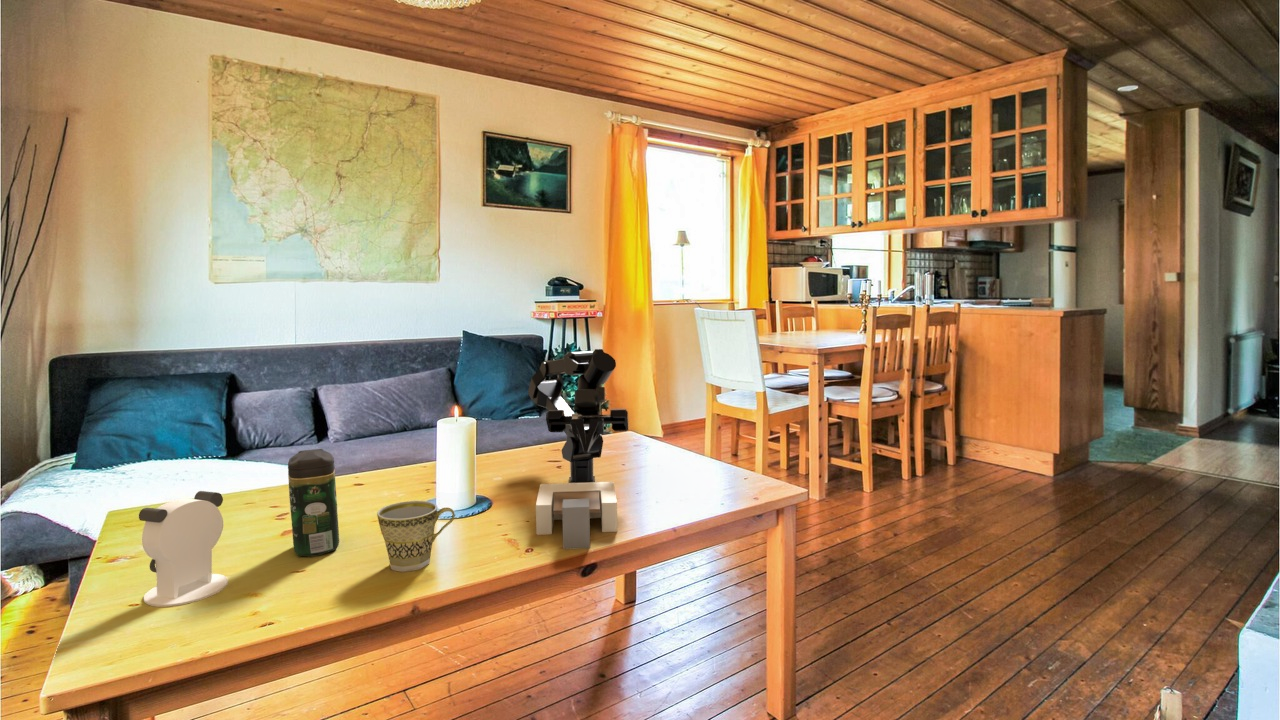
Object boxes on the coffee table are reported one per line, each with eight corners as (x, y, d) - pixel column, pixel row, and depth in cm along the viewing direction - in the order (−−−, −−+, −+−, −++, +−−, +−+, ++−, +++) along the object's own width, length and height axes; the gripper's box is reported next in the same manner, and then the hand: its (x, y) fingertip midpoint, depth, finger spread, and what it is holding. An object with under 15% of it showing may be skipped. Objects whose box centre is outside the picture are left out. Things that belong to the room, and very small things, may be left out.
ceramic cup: (381, 580, 112) (378, 522, 111) (378, 558, 121) (375, 505, 120) (460, 567, 117) (458, 511, 116) (452, 547, 126) (450, 495, 125)
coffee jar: (293, 543, 128) (287, 448, 126) (338, 536, 132) (333, 444, 130) (292, 561, 120) (285, 460, 118) (340, 553, 123) (335, 455, 121)
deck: (540, 510, 146) (540, 484, 146) (613, 508, 148) (613, 481, 147) (536, 534, 132) (535, 505, 131) (617, 531, 133) (616, 502, 133)
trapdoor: (554, 495, 140) (554, 491, 140) (598, 493, 141) (598, 490, 140) (553, 514, 132) (553, 510, 131) (600, 512, 132) (599, 508, 132)
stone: (562, 507, 124) (563, 549, 124) (589, 506, 124) (590, 548, 125) (563, 499, 129) (563, 539, 129) (589, 498, 129) (589, 538, 130)
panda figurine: (196, 570, 116) (189, 486, 115) (247, 578, 113) (241, 492, 111) (125, 601, 105) (117, 508, 103) (180, 610, 101) (172, 515, 100)
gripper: (545, 375, 153) (539, 433, 143) (626, 374, 153) (626, 431, 143) (551, 403, 162) (546, 459, 152) (628, 402, 161) (628, 458, 151)
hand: (585, 452), depth 149 cm, fingers closed
